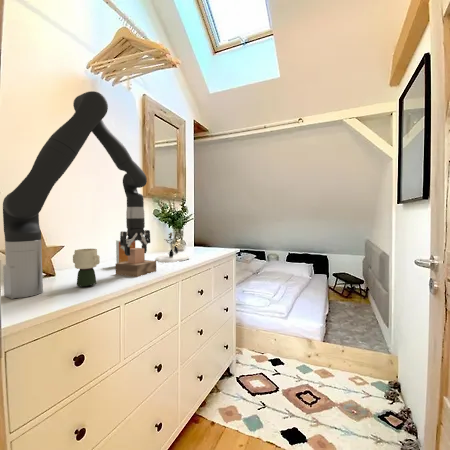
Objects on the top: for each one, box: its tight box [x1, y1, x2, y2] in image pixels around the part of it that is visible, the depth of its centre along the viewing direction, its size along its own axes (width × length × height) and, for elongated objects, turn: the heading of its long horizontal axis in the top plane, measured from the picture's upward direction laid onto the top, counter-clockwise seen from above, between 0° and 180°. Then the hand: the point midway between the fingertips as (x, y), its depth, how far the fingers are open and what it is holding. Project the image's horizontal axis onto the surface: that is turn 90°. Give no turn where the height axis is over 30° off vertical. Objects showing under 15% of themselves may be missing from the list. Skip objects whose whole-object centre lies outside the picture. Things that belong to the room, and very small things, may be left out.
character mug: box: [72, 248, 101, 287], centre depth 93 cm, size 11×7×13 cm, turn 77°
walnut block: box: [115, 259, 157, 278], centre depth 115 cm, size 12×12×5 cm
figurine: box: [154, 232, 190, 263], centre depth 150 cm, size 20×18×16 cm
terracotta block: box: [128, 247, 146, 264], centre depth 115 cm, size 5×5×6 cm
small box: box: [115, 239, 136, 263], centre depth 132 cm, size 8×6×13 cm
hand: (136, 254), depth 115 cm, fingers open, 8 cm apart
